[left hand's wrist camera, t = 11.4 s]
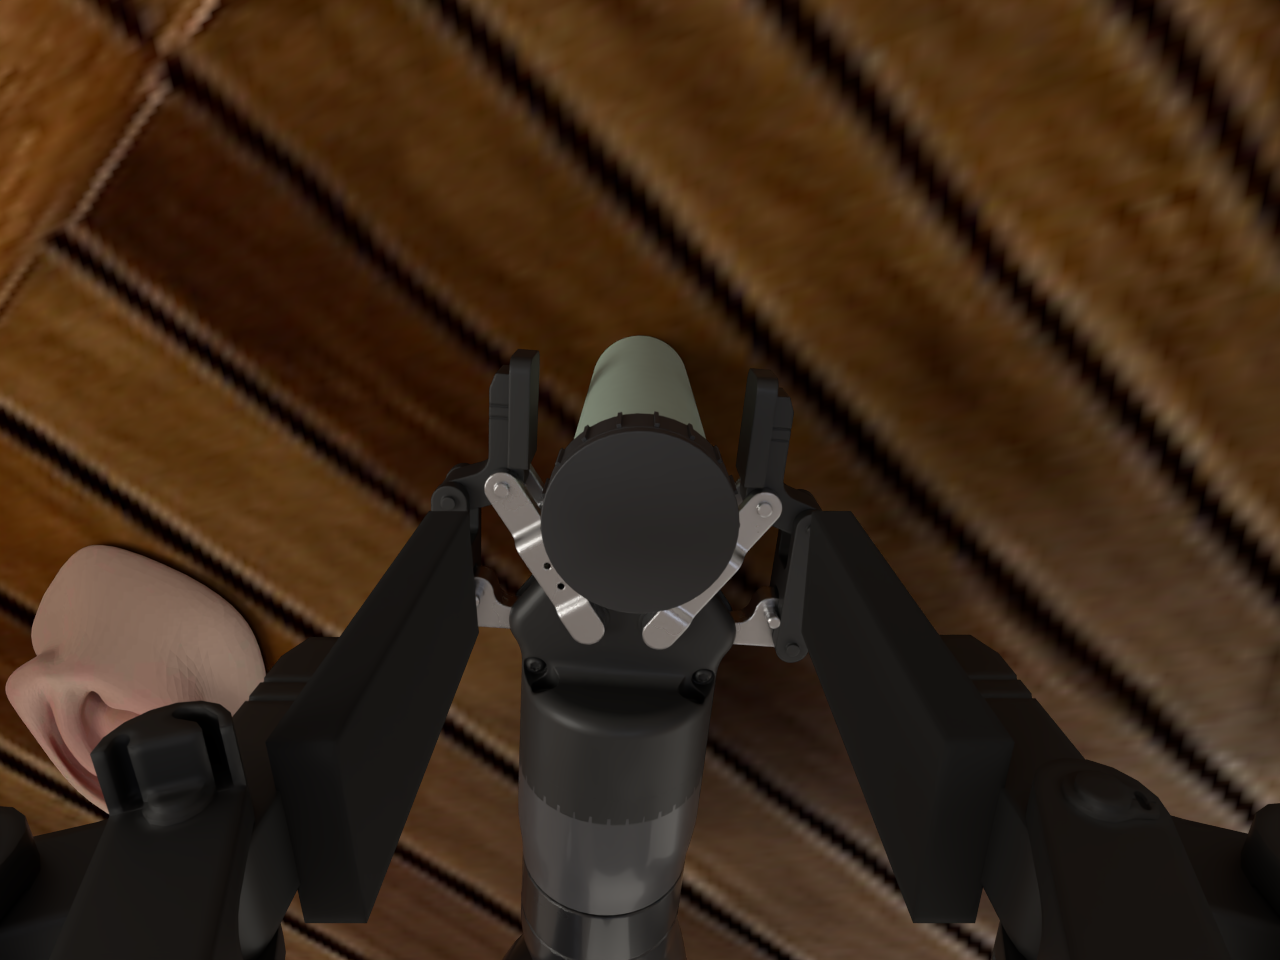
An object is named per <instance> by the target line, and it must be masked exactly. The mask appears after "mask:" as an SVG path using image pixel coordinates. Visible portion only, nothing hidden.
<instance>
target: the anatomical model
mask: <svg viewBox="0 0 1280 960" xmlns="http://www.w3.org/2000/svg"><path fill="white" fill-rule="evenodd" d="M31 636H32V643H33V647H34V650H35V652H36V654H37V657H35V658H33V659H32V660H30V661H28V662H27V663H25V664H23V665H22V666H21V667H19V668H18V669H17V670H15V671H14V672H13V673H12V675H11V676H10V677H9V679H8V681H7V683H6V694H7V697H8V699H9V701H10V703H11V704H12V706H13V707H14V709H15V710H16V712H17V713H18V715H19V716H20V717H21V719H22V720H23V722H24V723H25V724H26V726H27V727H28V729H29V730H30V731H31V733H32V734H33V736H34V737H35V738H36V740H37V741H38V742H39V744H40V745H41V747H42V748H43V749H44V751H45V752H46V754H47V755H48V756H49V758H50V759H51V761H52V762H53V763H54V764H55V766H56V767H57V768H58V769H59V771H60V772H61V773H62V774H63V776H64V777H65V778H66V779H67V780H68V781H69V782H70V783H71V784H72V786H73V787H74V788H75V789H76V790H77V791H78V792H80V793H81V794H82V795H83V796H84V797H86V798H87V799H88V800H89V801H90V802H92V803H93V804H95V805H96V806H98V807H99V808H101V809H102V810H104V811H105V812H107V813H108V814H109V812H108V809H107V806H106V802H105V799H104V796H103V793H102V790H101V787H100V784H99V781H98V778H97V775H96V772H95V769H94V765H93V762H92V759H91V756H90V753H91V752H92V751H93V749H94V748H95V747H96V746H97V745H98V743H99V742H100V741H101V740H102V738H103V737H104V736H106V735H107V734H109V733H110V732H111V731H113V730H114V729H116V728H117V727H118V726H120V725H121V724H123V723H124V722H126V721H128V720H130V719H132V718H134V717H137V716H139V715H141V714H143V713H145V712H147V711H149V710H152V709H156V708H159V707H163V706H167V705H170V704H174V703H178V702H189V701H207V702H212V703H218V704H221V705H222V706H223V707H224V708H226V709H227V710H228V711H230V712H231V715H232V717H233V715H234V714H235V713H236V712H237V710H238V709H239V708H240V707H241V705H242V704H243V703H244V702H245V701H248V700H249V696H250V694H251V693H252V692H253V691H254V689H255V688H256V687H257V686H258V685H259V683H260V682H264V677H265V676H266V672H265V667H264V663H263V659H262V655H261V652H260V648H259V646H258V643H257V641H256V638H255V636H254V634H253V632H252V630H251V628H250V627H249V625H248V623H247V622H246V621H245V619H244V618H243V617H242V615H241V614H240V613H239V612H238V611H237V610H236V609H235V608H234V607H233V606H232V605H231V604H230V603H229V602H227V601H226V600H225V599H224V598H222V597H221V596H220V595H218V594H217V593H215V592H214V591H212V590H211V589H209V588H208V587H206V586H205V585H203V584H201V583H200V582H198V581H196V580H194V579H193V578H191V577H189V576H187V575H185V574H183V573H181V572H179V571H177V570H175V569H173V568H171V567H168V566H166V565H164V564H162V563H159V562H157V561H155V560H152V559H150V558H147V557H145V556H142V555H139V554H136V553H133V552H130V551H127V550H124V549H121V548H117V547H113V546H105V545H93V546H88V547H85V548H82V549H81V550H79V551H78V552H76V553H75V554H74V555H72V556H71V557H70V558H69V560H68V561H67V562H66V563H65V564H64V565H63V566H62V568H61V569H60V571H59V572H58V574H57V575H56V577H55V579H54V580H53V582H52V583H51V585H50V586H49V588H48V589H47V591H46V593H45V594H44V596H43V599H42V601H41V603H40V606H39V608H38V611H37V614H36V617H35V619H34V623H33V626H32V635H31Z"/></svg>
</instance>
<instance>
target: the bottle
mask: <svg viewBox="0 0 1280 960" xmlns="http://www.w3.org/2000/svg"><path fill="white" fill-rule="evenodd" d="M654 411H656V412H659V415H660V416H665V417H668V418H671V419H675V420H677V421H679V422H681V423H683V424H686V425H688V423H690V424H692V425H693V429H694V430H695V431H697V432H698V433H699V434H700V435H702V436H703V437H704V438H705V439H706V437H705V434H704V430H703V427H702V424H701V420H700V417H699V413H698V410H697V407H696V403H695V400H694V396H693V393H692V390H691V386H690V383H689V379H688V376H687V373H686V369H685V366H684V364H683V362H682V360H681V358H680V357H679V355H678V354H677V353H676V352H675V350H674V349H673V348H671V347H670V346H669V345H668V344H666V343H664V342H663V341H661V340H659V339H656V338H653V337H648V336H632V337H627V338H624V339H621V340H619V341H617V342H615V343H614V344H612V345H611V346H610V347H609V348H608V349H606V350H605V351H604V353H603V354H602V355H601V357H600V358H599V360H598V362H597V364H596V366H595V369H594V373H593V376H592V380H591V383H590V387H589V390H588V393H587V397H586V400H585V404H584V407H583V410H582V414H581V417H580V421H579V424H578V427H577V431H576V434H575V438H576V437H577V436H578V435H579V434H581V433H582V432H583V431H584V427H585V426H586V425H589V427H591V426H593V425H595V424H597V423H599V422H601V421H603V420H606V419H609V418H612V417H615V416H617V415H618V413H619V412H622V414H623V415H624V414H635V413H643V414H654ZM575 438H574V439H575Z"/></svg>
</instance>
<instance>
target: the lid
mask: <svg viewBox="0 0 1280 960" xmlns="http://www.w3.org/2000/svg"><path fill="white" fill-rule="evenodd" d="M736 494H738V491H737V488H736V485H735V482H734V479H733V477H732V475H730V476H728V473H727V470H726V467H725V465H724V463H723V461H722V458H721V455H720V452H719V449H718V447H717V446H716V445H715V446H714V447H713V446H712V445H711V444H710V443H709V442H708V441H707V440H706V439H705V438H704V437H703V436H702V435H700V434H699V433H698V432H697V431H695V430H694V429H693V425H692V424H690V423H688V425H686V424H683V423H681V422H679V421H677V420H675V419H671V418H668V417H665V416H660V415H659V412H656V411H654V414H643V413H635V414H624V415H623V414H622V412H619V413H618V415H617V416H615V417H612V418H609V419H606V420H603V421H601V422H599V423H597V424H595V425H593V426H591V427H589V425H586V426H585V427H584V431H583V432H582V433H581V434H579V435H578V436H577V437H576V438H575V439H574V440H573V441H572V442H571V443H570V444H569V445H568V446H567V448H566V449H565V450H564V449H563V448H561V450H560V452H559V454H558V457H557V460H556V463H555V467H554V470H553V472H552V475H551V478H550V479H549V478H547V480H546V483H545V486H544V489H543V491H542V495H541V497H542V498H544V500H543V503H542V509H541V516H540V522H541V526H540V530H541V535H542V541H543V544H544V548H545V551H546V553H547V556H548V558H549V560H550V562H551V564H552V565H553V567H554V569H555V570H556V572H557V573H558V574H559V576H560V577H561V578H562V579H563V580H564V582H565V583H566V584H567V585H569V586H570V587H571V588H572V589H573V590H574V591H575V592H577V593H578V594H580V595H581V596H582V597H584V598H585V599H587V600H589V601H591V602H593V603H595V604H597V605H600V606H602V607H605V608H608V609H611V610H615V611H619V612H626V613H641V614H643V613H655V612H660V611H665V610H669V609H672V608H675V607H678V606H681V605H683V604H685V603H687V602H689V601H691V600H693V599H694V598H696V597H698V596H699V595H701V594H702V593H703V592H704V591H706V590H707V589H708V588H710V587H711V585H712V584H713V583H714V582H715V581H716V580H717V579H718V578H719V577H720V576H721V574H722V573H723V572H724V570H725V569H726V567H727V565H728V564H729V562H730V560H731V558H732V556H733V553H734V550H735V548H736V544H737V540H738V536H739V528H740V521H739V509H738V504H737V499H736V496H735V495H736Z"/></svg>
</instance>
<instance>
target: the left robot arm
mask: <svg viewBox="0 0 1280 960" xmlns="http://www.w3.org/2000/svg"><path fill="white" fill-rule="evenodd" d="M478 633H479V629H478V617H477V606H476V595H475V584H474V572H473V561H472V550H471V538H470V527H469V516H468V511H429V512H428V514H427V515H426V516H425V518H424V519H423V521H422V522H421V523H420V525H419V526H418V528H417V529H416V530H415V532H414V533H413V535H412V536H411V537H410V539H409V540H408V542H407V543H406V544H405V546H404V547H403V549H402V550H401V552H400V553H399V554H398V556H397V557H396V559H395V560H394V561H393V563H392V564H391V566H390V567H389V568H388V570H387V571H386V573H385V574H384V575H383V577H382V578H381V580H380V581H379V582H378V584H377V585H376V587H375V588H374V590H373V591H372V592H371V594H370V595H369V597H368V598H367V599H366V601H365V602H364V604H363V605H362V606H361V608H360V609H359V611H358V612H357V613H356V615H355V616H354V618H353V619H352V620H351V622H350V623H349V625H348V626H347V628H346V629H345V630H344V632H343V633H342V635H341V636H340V637H310V638H308V639H307V640H305V641H304V642H302V643H301V644H299V645H298V646H296V647H294V648H293V649H291V650H290V651H288V652H287V653H285V654H284V655H282V656H281V657H280V659H279V660H278V661H277V662H276V664H275V665H274V666H273V667H272V669H271V670H270V671H269V672H268V673H267V675H266V676H265V677H264V682H260V683H259V685H258V686H257V687H256V688H255V689H254V691H253V692H252V693H251V694H250V696H249V700H248V701H245V702H244V703H243V704H242V705H241V707H240V708H239V709H238V710H237V712H236V713H235V714H234V715H233V717H232V715H231V712H230V711H228V710H227V709H226V708H224V707H223V706H222V705H221V704H218V703H212V702H207V701H189V702H178V703H174V704H170V705H167V706H163V707H159V708H156V709H152V710H149V711H147V712H145V713H143V714H141V715H139V716H137V717H134V718H132V719H130V720H128V721H126V722H124V723H123V724H121V725H120V726H118V727H117V728H116V729H114V730H113V731H111V732H110V733H109V734H107V735H106V736H104V737H103V738H102V740H101V741H100V742H99V743H98V745H97V746H96V747H95V748H94V749H93V751H92V752H91V753H90V756H91V759H92V762H93V765H94V769H95V772H96V775H97V778H98V781H99V784H100V787H101V790H102V793H103V796H104V799H105V802H106V806H107V809H108V812H109V815H110V817H109V819H106V820H103V821H99V822H96V823H91V824H87V825H83V826H78V827H74V828H69V829H65V830H61V831H56V832H52V833H47V834H43V835H39V836H34V837H33V836H32V833H31V830H30V828H29V825H28V822H27V820H26V817H25V816H24V815H23V814H22V813H20V812H19V811H17V810H16V809H15V808H13V807H2V806H0V960H285V954H286V950H285V943H284V936H283V932H282V927H281V921H282V919H283V917H284V915H285V913H286V911H287V909H288V907H289V905H290V903H291V901H292V899H293V897H294V895H295V893H296V891H297V889H298V894H299V898H300V903H301V907H302V912H303V916H304V921H305V923H367V921H368V919H369V916H370V913H371V911H372V908H373V906H374V903H375V900H376V898H377V895H378V893H379V890H380V887H381V885H382V882H383V880H384V877H385V874H386V872H387V869H388V867H389V864H390V861H391V859H392V856H393V854H394V851H395V849H396V846H397V843H398V841H399V838H400V836H401V833H402V830H403V828H404V825H405V823H406V820H407V817H408V815H409V812H410V810H411V807H412V804H413V802H414V799H415V797H416V794H417V791H418V789H419V786H420V784H421V781H422V779H423V776H424V773H425V771H426V768H427V766H428V763H429V760H430V758H431V755H432V753H433V750H434V747H435V745H436V742H437V740H438V737H439V734H440V732H441V729H442V727H443V724H444V721H445V719H446V716H447V714H448V711H449V709H450V706H451V703H452V701H453V698H454V696H455V693H456V690H457V688H458V685H459V683H460V680H461V677H462V675H463V672H464V670H465V667H466V664H467V662H468V659H469V657H470V654H471V651H472V649H473V646H474V644H475V641H476V638H477V636H478ZM801 633H802V636H803V638H804V641H805V644H806V646H807V649H808V651H809V654H810V657H811V659H812V662H813V664H814V667H815V670H816V672H817V675H818V677H819V680H820V683H821V685H822V688H823V690H824V693H825V696H826V698H827V701H828V703H829V706H830V709H831V711H832V714H833V716H834V719H835V721H836V724H837V727H838V729H839V732H840V734H841V737H842V740H843V742H844V745H845V747H846V750H847V753H848V755H849V758H850V760H851V763H852V766H853V768H854V771H855V773H856V776H857V779H858V781H859V784H860V786H861V789H862V791H863V794H864V797H865V799H866V802H867V804H868V807H869V810H870V812H871V815H872V817H873V820H874V823H875V825H876V828H877V830H878V833H879V836H880V838H881V841H882V843H883V846H884V849H885V851H886V854H887V856H888V859H889V862H890V864H891V867H892V869H893V872H894V874H895V877H896V880H897V882H898V885H899V887H900V890H901V893H902V895H903V898H904V900H905V903H906V906H907V908H908V911H909V913H910V916H911V919H912V921H913V923H975V921H976V916H977V912H978V907H979V903H980V898H981V894H982V889H983V888H984V890H985V892H986V894H987V896H988V898H989V899H990V901H991V903H992V905H993V907H994V909H995V911H996V913H997V915H998V917H999V919H1000V923H999V927H998V932H997V936H996V940H995V944H994V949H993V953H992V957H991V960H1280V803H1277V804H1268V805H1266V806H1265V807H1264V808H1262V809H1261V810H1259V811H1258V812H1257V813H1256V814H1255V817H1254V820H1253V822H1252V825H1251V828H1250V830H1249V833H1248V834H1247V833H1242V832H1238V831H1233V830H1229V829H1225V828H1220V827H1216V826H1211V825H1207V824H1203V823H1198V822H1194V821H1189V820H1185V819H1181V818H1178V817H1175V816H1171V815H1170V814H1169V812H1168V811H1167V810H1166V808H1165V807H1164V805H1163V804H1162V802H1161V801H1160V800H1159V798H1158V797H1157V796H1156V795H1155V794H1153V793H1152V792H1151V791H1150V790H1148V789H1147V788H1146V787H1145V786H1144V785H1142V784H1141V783H1140V782H1139V781H1137V780H1135V779H1134V778H1132V777H1130V776H1128V775H1126V774H1124V773H1122V772H1120V771H1118V770H1116V769H1115V768H1112V767H1109V766H1106V765H1103V764H1100V763H1096V762H1093V761H1090V760H1085V759H1084V757H1083V756H1082V755H1081V754H1080V752H1079V751H1078V750H1077V749H1076V748H1075V746H1074V745H1073V744H1072V743H1071V741H1070V740H1069V739H1068V738H1067V737H1066V735H1065V734H1064V733H1063V732H1062V730H1061V729H1060V728H1059V727H1058V726H1057V724H1056V723H1055V722H1054V721H1053V719H1052V718H1051V717H1050V716H1049V714H1048V713H1047V712H1046V711H1045V710H1044V708H1043V707H1042V706H1041V705H1040V703H1039V702H1038V701H1037V700H1036V699H1035V698H1032V696H1031V695H1032V694H1031V692H1030V691H1029V690H1028V689H1027V688H1026V686H1025V685H1024V684H1023V683H1022V681H1021V680H1017V675H1016V674H1015V673H1014V672H1013V670H1012V669H1011V668H1010V667H1009V666H1008V664H1007V663H1006V662H1005V661H1004V659H1003V658H1002V657H1001V656H1000V655H999V653H997V652H996V651H994V650H993V649H991V648H989V647H988V646H986V645H985V644H983V643H982V642H980V641H979V640H977V639H976V638H974V637H973V636H971V635H938V633H937V632H936V630H935V629H934V628H933V626H932V625H931V623H930V622H929V620H928V619H927V618H926V616H925V615H924V613H923V612H922V611H921V609H920V608H919V606H918V605H917V604H916V602H915V601H914V599H913V598H912V597H911V595H910V594H909V592H908V591H907V590H906V588H905V587H904V585H903V584H902V582H901V581H900V580H899V578H898V577H897V575H896V574H895V573H894V571H893V570H892V568H891V567H890V566H889V564H888V563H887V561H886V560H885V559H884V557H883V556H882V554H881V553H880V552H879V550H878V549H877V547H876V546H875V544H874V543H873V542H872V540H871V539H870V537H869V536H868V535H867V533H866V532H865V530H864V529H863V528H862V526H861V525H860V523H859V522H858V521H857V519H856V518H855V516H854V515H853V514H852V512H851V511H812V516H811V527H810V538H809V550H808V561H807V572H806V584H805V595H804V606H803V617H802V629H801Z"/></svg>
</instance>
